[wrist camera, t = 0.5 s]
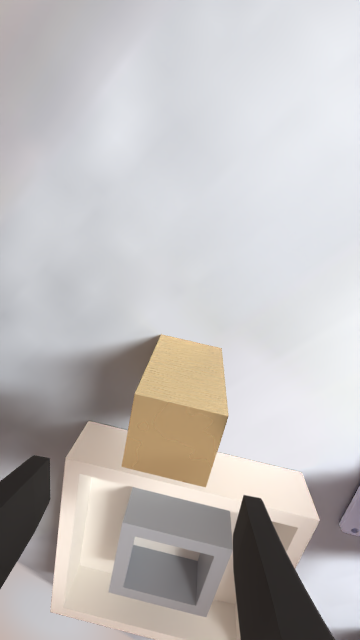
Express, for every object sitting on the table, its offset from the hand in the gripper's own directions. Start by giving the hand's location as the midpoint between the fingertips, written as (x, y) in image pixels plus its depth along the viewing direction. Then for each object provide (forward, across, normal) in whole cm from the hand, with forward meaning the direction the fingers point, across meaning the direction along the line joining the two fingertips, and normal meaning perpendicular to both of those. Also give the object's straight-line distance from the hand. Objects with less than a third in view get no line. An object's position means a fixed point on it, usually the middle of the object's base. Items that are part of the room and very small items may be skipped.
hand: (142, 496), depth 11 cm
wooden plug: (+9, -1, 0) cm, 9 cm away
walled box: (+9, -2, +14) cm, 17 cm away
